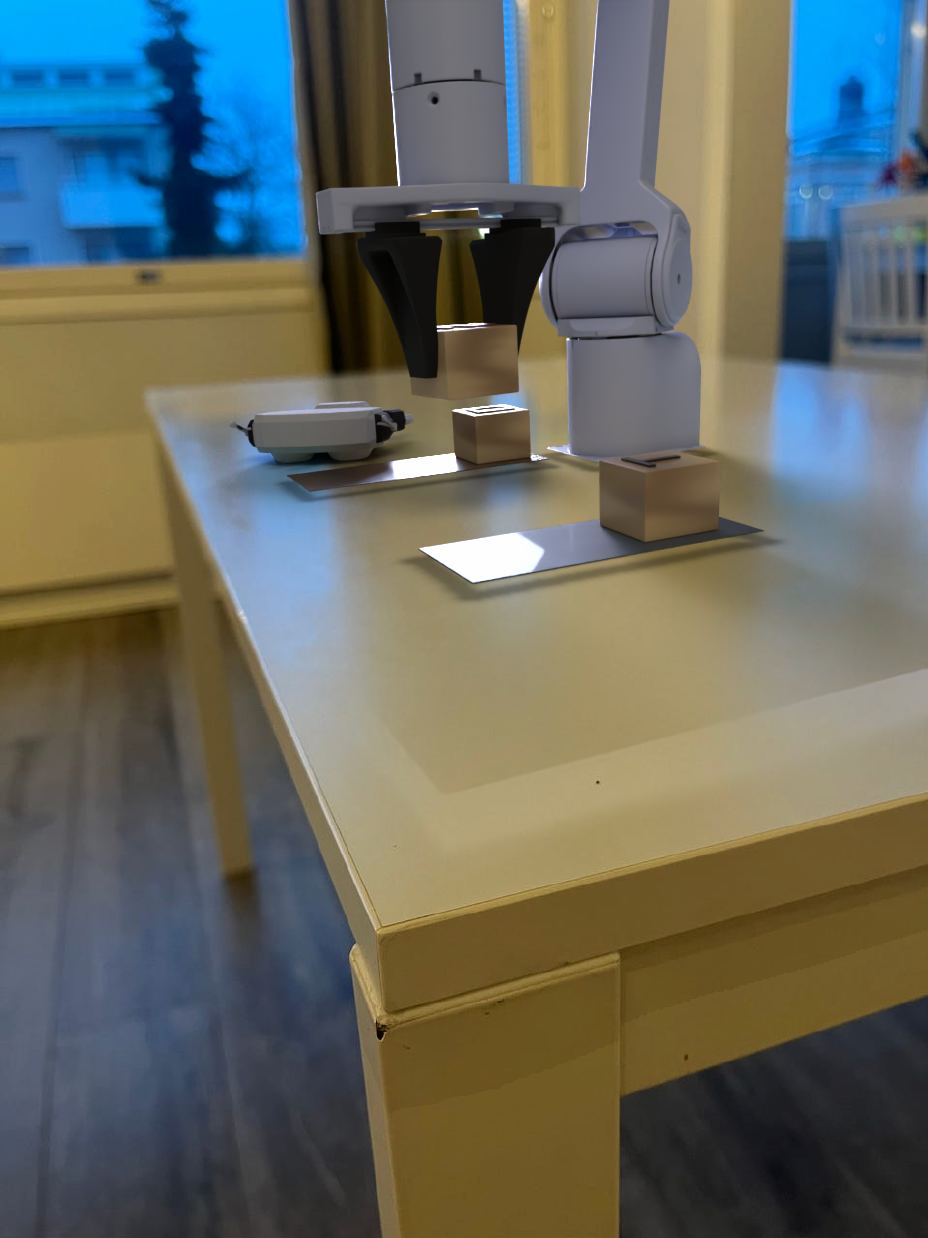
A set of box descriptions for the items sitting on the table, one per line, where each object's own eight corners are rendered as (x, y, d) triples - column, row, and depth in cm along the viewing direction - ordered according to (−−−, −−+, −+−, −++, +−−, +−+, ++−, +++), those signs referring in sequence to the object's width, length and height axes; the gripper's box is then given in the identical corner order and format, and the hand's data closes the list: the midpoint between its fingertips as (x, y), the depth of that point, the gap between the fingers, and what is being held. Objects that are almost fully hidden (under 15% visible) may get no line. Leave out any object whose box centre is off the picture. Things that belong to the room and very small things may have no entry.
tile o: (506, 449, 75) (504, 402, 74) (531, 457, 71) (529, 408, 70) (454, 456, 73) (451, 408, 72) (477, 464, 69) (474, 414, 68)
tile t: (669, 513, 52) (669, 447, 51) (719, 530, 48) (721, 458, 47) (598, 525, 51) (598, 457, 49) (645, 543, 47) (645, 470, 46)
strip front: (682, 515, 54) (682, 504, 54) (764, 541, 48) (764, 529, 48) (418, 559, 49) (417, 548, 48) (473, 596, 42) (472, 583, 42)
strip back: (508, 453, 76) (508, 446, 76) (549, 466, 70) (549, 458, 70) (287, 482, 70) (286, 474, 70) (311, 499, 64) (309, 491, 64)
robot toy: (291, 453, 88) (230, 473, 73) (287, 403, 86) (224, 413, 72) (423, 449, 86) (386, 468, 71) (420, 397, 85) (382, 406, 70)
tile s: (478, 387, 55) (475, 322, 54) (519, 392, 52) (517, 322, 50) (410, 395, 53) (405, 327, 52) (448, 400, 50) (444, 328, 48)
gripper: (526, 111, 54) (534, 358, 59) (283, 102, 48) (312, 381, 52) (603, 86, 48) (605, 363, 53) (338, 72, 42) (366, 389, 46)
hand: (464, 373), depth 52 cm, fingers closed on tile s, 4 cm apart
